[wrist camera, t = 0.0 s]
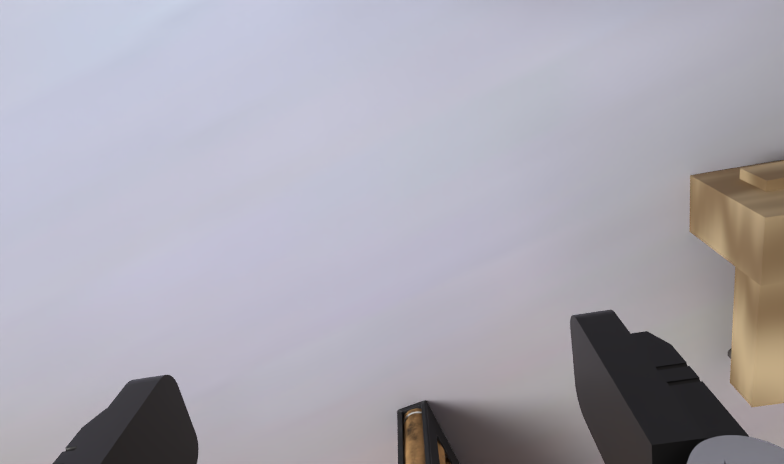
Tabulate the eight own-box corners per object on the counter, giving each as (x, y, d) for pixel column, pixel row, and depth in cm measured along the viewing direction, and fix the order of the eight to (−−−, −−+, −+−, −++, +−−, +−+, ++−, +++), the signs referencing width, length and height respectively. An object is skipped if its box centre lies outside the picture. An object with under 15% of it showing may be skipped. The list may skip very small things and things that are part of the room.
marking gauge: (690, 165, 27) (765, 205, 21) (798, 147, 26) (904, 183, 21) (687, 369, 31) (750, 447, 26) (780, 356, 31) (864, 433, 25)
